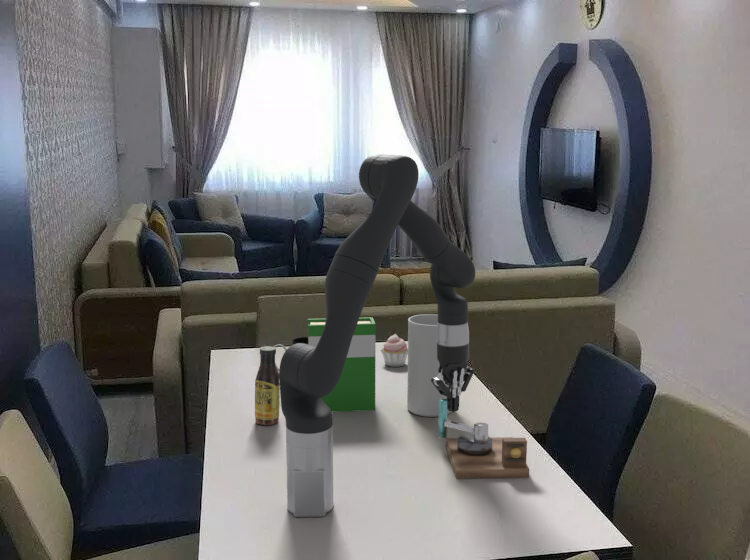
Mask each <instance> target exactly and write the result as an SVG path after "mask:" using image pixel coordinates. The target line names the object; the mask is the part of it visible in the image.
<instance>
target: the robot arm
mask: <svg viewBox="0 0 750 560" xmlns="http://www.w3.org/2000/svg"><path fill="white" fill-rule="evenodd" d="M358 171H359V172H358V178H359V179H358V180H359V185H360V187H361V189H362V190H363V192H364V193H365V195H366V196H368V198H370V199H371V200H372V201H373V202H374V206H373V208H372V210H371V211H370V213H369V215H368V216H367V217H366V218H365V219H364V221H362V222H361V224H360V225H358V226H357V227H356V228H355V229H354V230H353V231H352V232H351V233H350V234H349V235H348V236H347V237H346V238H345V239H344V240H343V242H342V243H341V244H340V245H339V247H338V248H337V250H336V251H335V254H334V257H333V258H332V261H331V264H330V266H329V269H328V270H327V273H326V276H325V279H324V280H325V281H324V294H325V295H324V296H325V307H326V308H325V310H326V322H325V326H324V329H323V332H322V335H321V337H320V340H319V342H318V344H317V346H316V347H315V346H311V345H308V344H304V343H297V344H294V345H292V344H291V345H290V346H289V347H288V348H286V351H285V350H284V352H283V354H282V357H281V358H280V363H279V383H280V394H279V397H280V407H281V412H282V414H283V416H284V419H285V437H286V438H285V443H286V445H285V449H286V451H285V453H286V457H285V458H286V490H287V491H286V494H287V495H286V499H287V501H286V502H287V507H286V508H287V509H288V511H289V512H290V513H292V514H293V517H295V518H298V517H300V518H302V517H304V518H307V517H308V518H309V517H316V518H317V517H326V514H327V513H329V512H330V511H332V509H333V508H334V442H333V441H334V421H333V419H334V415H333V412H332V411H331V410H330V408H329V407H328V406H327V405H326V404H325V403H324V401H323V400H322V397H325V396H327V395H329V394H330V393H331V392H332V391H333V390H334V388H335V387H336V385H337V383H338V381H339V379H340V377H341V374H342V371H343V368H344V365H345V361H346V358H347V354H348V351H349V347H350V344H351V340H352V337H353V334H354V331H355V328H356V325H357V323H358V320H359V318H361V314H362V311H363V310H364V306H365V304H366V301H367V299H368V297H369V295H370V292H371V290H372V288H373V286H374V283H375V280H376V278H377V275H378V274H379V269H380V267H381V264H382V262H383V260H384V258H385V257H384V256H385V255H386V252H387V249H388V247H389V245H390V243H391V240H392V238H393V236H394V233H395V232H396V229H397V228H398V227H399V228H400V229H401V230H402V231H403V232H404V233H405V234H406V236H407V237H408V238H409V239H410V241H411V242H412V243H413V245H414V246H415V248H416V249H417V251H418V252H419V253H420V255H421V257H423V258H424V260H425V261H427V263H429V264H430V269H429V279H430V283H431V287H432V290H433V294H434V298H435V301H436V303H437V304H436V305H437V314H438V325H437V359H438V361H439V363H440V366H439V369H438V372H439V374H438V375H437V376H436V378H434V377H433V378H432V379H431V382H432V383H433V385H434V386H435V387H436V389H437V390H438V391H439V393H440V394H441V395H444V396H447V409H448V410H449V411H451V413H455V412H458V411H459V409H460V396H461V395H462V392H465V391H466V390H467V388H468V386H469V384H470V382H471V380H472V377H473V376H474V373H475V369H474V368H473V367H472V368H471V367H469V366H468V361H469V359H470V330H469V329H470V328H469V319H468V318H469V308H468V307H469V306H468V305H469V303H468V300H467V299H466V297H464V296H462V295H459V294H458V293H457V292H456V290H455V288H456V289H465V288H469V287H470V286H471V285H472V284H473V282H474V281H475V279H476V267H475V265H474V262H473V261H472V259H471V258H470V257H469V255H468V254H466V253H465V252H464V251H463V250H462V249H460V248H459V247H458V245H457V244H455V243H453V242H452V241H451V240H450V238H449V236H448V234H446V232H445V231H444V229H443V228H442V227H441V225H440V223H439V222H438V221H436V219H435V218H434V217H432V215H430V214H429V213H427V212H426V211H425V210H424V209H423V208H421V207H420V206H418V205H417V204H416V203H415V202H413V201H412V198H413V196H414V195H415V192H416V190H417V187H418V182H419V174H420V173H419V167H418V164H417V163H416V161H415V160H414V159H413V158H412V157H410V156H407V155H398V154H374V155H369V156H368V157H367V158H365V159H364V160H363V161H362V163H361V165H360V167H359V170H358Z"/></svg>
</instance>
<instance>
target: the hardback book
mask: <svg viewBox="0 0 750 560" xmlns="http://www.w3.org/2000/svg"><path fill="white" fill-rule="evenodd" d="M325 322H326V318H325V317H324V318H323V317H322V318H307V337H308V345H311V346H315V347H316V346H317V344H318V342H319V340H320V337H321V335H322V332H323V329H324V326H325ZM376 324H377V323H376V322H375V320H374V318H373V316H372V317H370V316H369V317H359V320H358V323H357V325H356V328H355V331H354V334H353V337H352V340H351V344H350V347H349V351H348V354H347V358H346V361H345V365H344V368H343V371H342V374H341V377H340V379H339V381H338V383H337V385H336V387H335V388H334V390H333V391H332V392H331V393H330V394H329V395H327V396H325V397H322V400H323V401H324V403H325V404H326V405H327V406H328V407H329V408H330V410H331V411H332V413H337V412H338V413H339V412H340V413H341V412H342V413H344V412H363V411H364V412H366V411H367V412H368V411H372V412H373V411H376V335H377V334H376V326H377V325H376Z"/></svg>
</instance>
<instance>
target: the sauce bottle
mask: <svg viewBox="0 0 750 560" xmlns="http://www.w3.org/2000/svg"><path fill="white" fill-rule="evenodd" d="M276 354H277V349H276V347H274V346H269V345H267V346H261V347H260V348H259V355H260V357H259V358H260V360H259V361H260V362H259V367H258V371H257V373H256V376H255V379H254V380H255V381H254V382H255V384H254V386H255V387H254V417H255V422H256V423H257V424H259V425H262V426H272V425H275V424H277V423H278V422H279V418H280V382H279V371H278V370H277V368H276V366H275V363H276Z"/></svg>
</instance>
